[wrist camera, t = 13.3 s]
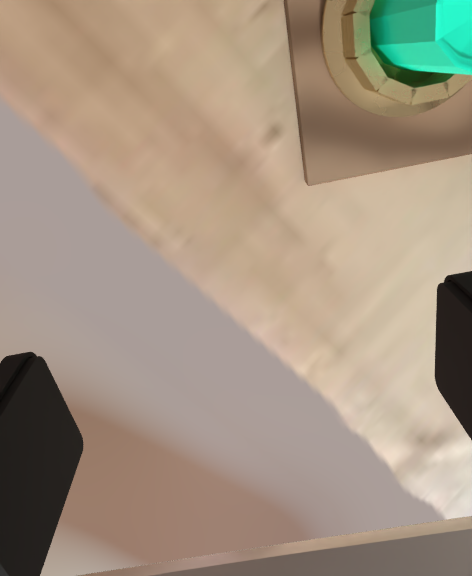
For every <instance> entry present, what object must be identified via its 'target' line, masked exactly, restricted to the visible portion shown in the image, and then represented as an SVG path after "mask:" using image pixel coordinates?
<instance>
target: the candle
mask: <svg viewBox="0 0 472 576" xmlns="http://www.w3.org/2000/svg"><path fill="white" fill-rule="evenodd" d="M369 17H370V41H371V47H372V48H373V49H374V51H375V52H376V53H377V55H378V56H379V57H380V59H381V60H382V61H383V63H384V64H387V65H390V66H393V67H397V68H400V69H403V70H412V71H425V72H439V73H452V74H466V75H472V0H375V2H374V5H373V8H372V11H371V13H370V16H369Z"/></svg>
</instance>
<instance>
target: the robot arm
mask: <svg viewBox="0 0 472 576" xmlns="http://www.w3.org/2000/svg"><path fill="white" fill-rule="evenodd" d="M435 380H436V384H437V387H438V389H439V391H440V393H441V394H442V396H443V397H444V399H445V400H446V402H447V403H448V405H449V406H450V408H451V410H452V411H453V413H454V414H455V416H456V417H457V419H458V420H459V422H460V423H461V425H462V426H463V428H464V429H465V431H466V432H467V434H468V435H469V437H470V438H471V440H472V271H470V272H464V273H459V274H453V275H448V276H447V277H446V278H445V280H444V283H440V284H439V285H438V287H437V313H436V350H435ZM82 451H83V438H82V435H81V433H80V431H79V429H78V427H77V425H76V423H75V421H74V419H73V417H72V415H71V413H70V411H69V409H68V407H67V405H66V403H65V401H64V398H63V397H62V394H61V393H60V390H59V388H58V386H57V384H56V382H55V380H54V378H53V376H52V374H51V372H50V370H49V368H48V366H47V364H46V362H45V360H44V359H43V358H42V357H40V356H38V357H37V356H36V355H35V354H34V353H33V352H27V353H21V354H16V355H11V356H6V357H5V358H4V359H3V360H2V361H1V363H0V576H40V574H41V570H42V568H43V565H44V562H45V559H46V556H47V553H48V550H49V547H50V545H51V542H52V539H53V536H54V533H55V530H56V527H57V524H58V521H59V518H60V516H61V513H62V510H63V507H64V504H65V501H66V498H67V495H68V492H69V489H70V486H71V483H72V481H73V478H74V475H75V471H76V469H77V466H78V463H79V460H80V457H81V454H82ZM78 576H472V516H470V517H462V518H455V519H448V520H441V521H435V522H428V523H421V524H415V525H407V526H401V527H394V528H387V529H380V530H373V531H367V532H359V533H353V534H346V535H339V536H332V537H326V538H319V539H312V540H306V541H299V542H292V543H286V544H279V545H272V546H266V547H259V548H253V549H246V550H239V551H233V552H226V553H220V554H213V555H207V556H200V557H193V558H187V559H180V560H174V561H167V562H161V563H154V564H148V565H141V566H135V567H129V568H123V569H116V570H111V571H104V572H97V573H91V574H85V575H78Z"/></svg>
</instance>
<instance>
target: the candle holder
mask: <svg viewBox="0 0 472 576" xmlns="http://www.w3.org/2000/svg"><path fill="white" fill-rule="evenodd" d="M374 2H375V0H325V2H324V6H323V11H322V17H321V29H320V31H321V47H322V54H323V58H324V61H325V65H326V68H327V70H328V72H329V75H330V77H331V79H332V80H333V82H334V84H335V85H336V87H337V88H338V89H339V91H340V92H341V93H342V94H343V95H344V96H345V97H346V98H347V99H348V100H349V101H350V102H352V103H353V104H355V105H356V106H358V107H360V108H362V109H364V110H366V111H368V112H371V113H374V114H377V115H381V116H387V117H407V116H413V115H417V114H420V113H424V112H426V111H429V110H431V109H433V108H435V107H437V106H439V105H441V104H442V103H444V102H446V101H447V100H448V99H450V98H451V97H453V96H454V95H455V94H456V93H457V92H458V91H460V90H461V89H462V88H463V87H464V86H465V85H466V84H467V83H468V82H469V81H470V80H472V75H466V74H452V73H439V72H425V71H412V70H403V69H400V68H397V67H393V66H390V65H387V64H384V63H383V61H382V60H381V59H380V57H379V56H378V55H377V53H376V52H375V51H374V49H373V48H372V47H371V41H370V17H369V16H370V13H371V11H372V8H373V5H374Z"/></svg>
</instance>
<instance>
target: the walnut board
mask: <svg viewBox="0 0 472 576" xmlns="http://www.w3.org/2000/svg"><path fill="white" fill-rule="evenodd" d="M324 2H325V0H284V4H285V13H286V22H287V30H288V39H289V47H290V56H291V64H292V73H293V82H294V90H295V99H296V107H297V116H298V124H299V133H300V141H301V150H302V159H303V167H304V176H305V182H306V183H307V185H308V186H311V185H316V184H321V183H326V182H332V181H337V180H342V179H347V178H352V177H357V176H362V175H367V174H372V173H377V172H382V171H387V170H393V169H398V168H403V167H408V166H413V165H418V164H423V163H428V162H433V161H438V160H443V159H448V158H454V157H459V156H464V155H469V154H472V80H470V81H469V82H468V83H467V84H466V85H465V86H464V87H463V88H462V89H461V90H460V91H458V92H457V93H456V94H455V95H454V96H453V97H451V98H450V99H448V100H447V101H446V102H444V103H442V104H441V105H439V106H437V107H435V108H433V109H431V110H429V111H426V112H424V113H420V114H417V115H413V116H407V117H387V116H381V115H377V114H374V113H371V112H368V111H366V110H364V109H362V108H360V107H358V106H356V105H355V104H353V103H352V102H350V101H349V100H348V99H347V98H346V97H345V96H344V95H343V94H342V93H341V92H340V91H339V89H338V88H337V87H336V85H335V84H334V82H333V80H332V79H331V77H330V75H329V72H328V70H327V68H326V65H325V61H324V58H323V54H322V47H321V31H320V29H321V17H322V11H323V6H324Z"/></svg>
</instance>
